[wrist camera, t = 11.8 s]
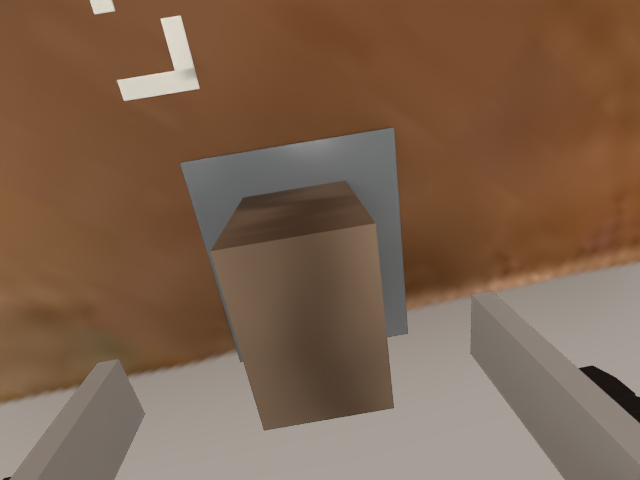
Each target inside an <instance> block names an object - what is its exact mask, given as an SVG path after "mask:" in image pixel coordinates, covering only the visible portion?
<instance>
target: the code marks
mask: <svg viewBox="0 0 640 480" xmlns="http://www.w3.org/2000/svg"><path fill="white" fill-rule="evenodd" d="M90 3H91V6H92V9H93V11H94V14H95V15H98V14H104V13H110V12H116V10H115V6H114V3H113V0H90ZM160 20H161V23H162V27H163V30H164V34H165V37H166V41H167V45H168V48H169V52H170V55H171V59H172V62H173V66H174V69H175V71H170V72H164V73H158V74H152V75H146V76H140V77H133V78H127V79H121V80H117V82H118V85H119V88H120V91H121V94H122V97H123V99H124V101H129V100H135V99H141V98H147V97H153V96H159V95H165V94H172V93H178V92H184V91H190V90H196V89H200V86H199V83H198V79H197V75H196V71H195V67H194V63H193V59H192V56H191V52H190V48H189V44H188V40H187V36H186V33H185V29H184V25H183V21H182V17H181V15H180V16H174V17H168V18H162V19H160Z"/></svg>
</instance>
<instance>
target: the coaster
mask: <svg viewBox="0 0 640 480" xmlns="http://www.w3.org/2000/svg"><path fill="white" fill-rule="evenodd" d="M180 164H181V168H182V171H183V174H184V178H185V181H186V184H187V188H188V191H189V194H190V197H191V201H192V204H193V207H194V211H195V214H196V217H197V221H198V224H199V227H200V230H201V234H202V237H203V240H204V244H205V247H206V250H207V254H208V257H209V260H210V263H211V267H212V270H213V273H214V277H215V280H216V283H217V287H218V290H219V293H220V296H221V300H222V303H223V306H224V310H225V313H226V316H227V320H228V323H229V326H230V329H231V333H232V336H233V339H234V343H235V346H236V349H237V353H238V356H239V359H240V362H243V359H242V355H241V352H240V349H239V345H238V342H237V339H236V335H235V332H234V329H233V326H232V322H231V319H230V316H229V312H228V309H227V306H226V302H225V299H224V296H223V292H222V289H221V286H220V282H219V279H218V276H217V272H216V269H215V266H214V262H213V259H212V256H211V252H210V251H211V249H212V247H213V246H214V244H215V243H216V241H217V239H218V238H219V236H220V234H221V233H222V231H223V230H224V228H225V226H226V225H227V223H228V221H229V220H230V218H231V216H232V215H233V213H234V212H235V210H236V208H237V207H238V205H239V203H240V202H241V200H242V199H243V197H249V196H255V195H261V194H267V193H273V192H279V191H285V190H291V189H297V188H303V187H309V186H314V185H320V184H326V183H332V182H338V181H344V180H345V181H346V182H347V184H348V185H349V186H350V188H351V189H352V191H353V192H354V193H355V195H356V196H357V198H358V199H359V201H360V202H361V203H362V205H363V206H364V208H365V209H366V210H367V212H368V213H369V215H370V216H371V217H372V219H373V220H374V222H375V223H376V232H377V242H378V252H379V262H380V272H381V283H382V293H383V303H384V313H385V323H386V333H387V337H391V336H397V335H403V334H408V326H407V311H406V297H405V282H404V267H403V252H402V238H401V223H400V208H399V193H398V179H397V164H396V149H395V134H394V127H390V128H384V129H378V130H372V131H366V132H360V133H354V134H348V135H342V136H336V137H330V138H324V139H317V140H311V141H305V142H299V143H293V144H287V145H281V146H275V147H269V148H263V149H257V150H251V151H245V152H239V153H233V154H227V155H221V156H215V157H209V158H203V159H197V160H190V161H184V162H181V163H180Z"/></svg>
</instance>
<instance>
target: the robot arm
mask: <svg viewBox="0 0 640 480" xmlns="http://www.w3.org/2000/svg"><path fill="white" fill-rule="evenodd" d="M471 311H472V312H471V354H472V356H473V357H474V358H475V360H476V361H477V362H478V364H479V365H480V367H481V368H482V369H483V371H484V372H485V373H486V375H487V376H488V377H489V379H490V380H491V381H492V383H493V384H494V385H495V387H496V388H497V389H498V390H499V392H500V393H501V395H502V396H503V397H504V399H505V400H506V401H507V403H508V404H509V405H510V407H511V408H512V409H513V411H514V412H515V413H516V415H517V416H518V418H519V419H520V420H521V422H522V423H523V424H524V426H525V427H526V428H527V430H528V431H529V432H530V433H531V435H532V436H533V437H534V439H535V440H536V442H537V443H538V444H539V446H540V447H541V448H542V450H543V451H544V452H545V454H546V455H547V456H548V458H549V459H550V460H551V462H552V463H553V464H554V466H555V467H556V468H557V470H558V471H559V472H560V474H561V475H562V476H563V478H564V479H565V480H640V397H637V396H635V393H634V392H633V391H631V390H630V389H629V388H628V387H627V386H625V385H624V384H623V383H622V382H621V381H619V380H618V379H617V378H616V377H614V376H612V375H610V374H608V373H606V372H604V371H602V370H600V369H598V368H596V367H594V366H588V367H582V368H577V367H576V366H575V365H574V364H572V363H571V361H569V360H568V359H567V358H566V357H565V356H564V355H563V354H562V353H560V352H559V351H558V350H557V349H556V348H555V347H554V346H553V345H552V344H550V343H549V342H548V341H547V340H546V339H545V338H544V337H543V336H541V335H540V334H539V333H538V332H537V331H536V330H535V329H534V328H532V327H531V326H530V325H529V324H528V323H527V322H526V321H525V320H524V319H522V318H521V317H520V316H519V315H518V314H517V313H516V312H515V311H514V310H512V309H511V308H510V307H509V306H508V305H507V304H506V303H505V302H503V301H502V300H501V299H500V298H499V297H498V296H497V295H496V294H495V293H493V292H492V291H490V292H484V293H479V294H473V295H472V309H471ZM144 415H145V413H144V411H143V409H142V407H141V405H140V403H139V401H138V398H137V396H136V394H135V392H134V390H133V388H132V386H131V384H130V382H129V380H128V378H127V375H126V373H125V371H124V369H123V367H122V365H121V363H120V361H119V359H116V360H110V361H105V362H99V363H97V364H96V365H95V367H94V368H93V369H92V371H91V372H90V373H89V375H88V376H87V377H86V379H85V380H84V381H83V383H82V384H81V385H80V387H79V388H78V389H77V391H76V392H75V393H74V395H73V396H72V397H71V399H70V400H69V401H68V403H67V404H66V405H65V407H64V408H63V409H62V411H61V412H60V413H59V415H58V416H57V417H56V419H55V420H54V421H53V423H52V424H51V425H50V427H49V428H48V429H47V431H46V432H45V433H44V435H43V436H42V437H41V439H40V440H39V441H38V443H37V444H36V445H35V447H34V448H33V449H32V450H31V452H30V453H29V454H28V456H27V457H26V459H25V460H24V461H23V463H22V464H21V465H20V466H19V468H18V469H17V471H16V472H15V473H14V475H13V476H12V477H8V478H4V479H3V480H114V479H115V477H116V475H117V473H118V470H119V468H120V466H121V464H122V462H123V460H124V458H125V455H126V453H127V451H128V449H129V447H130V445H131V443H132V441H133V438H134V436H135V434H136V432H137V430H138V428H139V425H140V423H141V421H142V419H143V417H144Z"/></svg>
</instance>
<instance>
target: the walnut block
mask: <svg viewBox="0 0 640 480" xmlns="http://www.w3.org/2000/svg"><path fill="white" fill-rule="evenodd" d="M210 252H211V256H212V259H213V262H214V266H215V269H216V272H217V276H218V279H219V282H220V286H221V289H222V292H223V296H224V299H225V302H226V306H227V309H228V312H229V316H230V319H231V322H232V326H233V329H234V332H235V335H236V339H237V342H238V345H239V349H240V352H241V355H242V359H243V362H244V365H245V369H246V372H247V375H248V379H249V382H250V385H251V389H252V392H253V395H254V399H255V402H256V405H257V409H258V412H259V415H260V418H261V422H262V425H263V429H264V430H269V429H275V428H281V427H287V426H293V425H299V424H304V423H310V422H316V421H322V420H328V419H333V418H339V417H345V416H351V415H357V414H362V413H368V412H374V411H380V410H385V409H391V408H394V404H393V394H392V384H391V375H390V364H389V354H388V345H387V333H386V323H385V313H384V303H383V293H382V283H381V272H380V262H379V252H378V242H377V232H376V223H375V222H374V220H373V219H372V217H371V216H370V215H369V213H368V212H367V210H366V209H365V208H364V206H363V205H362V203H361V202H360V201H359V199H358V198H357V196H356V195H355V193H354V192H353V191H352V189H351V188H350V186H349V185H348V184H347V182H346V181H345V180H344V181H338V182H332V183H326V184H320V185H314V186H309V187H303V188H297V189H291V190H285V191H279V192H273V193H267V194H261V195H255V196H249V197H243V199H242V200H241V202H240V203H239V205H238V207H237V208H236V210H235V212H234V213H233V215H232V216H231V218H230V220H229V221H228V223H227V225H226V226H225V228H224V230H223V231H222V233H221V234H220V236H219V238H218V239H217V241H216V243H215V244H214V246H213V247H212V249H211V251H210Z"/></svg>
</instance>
